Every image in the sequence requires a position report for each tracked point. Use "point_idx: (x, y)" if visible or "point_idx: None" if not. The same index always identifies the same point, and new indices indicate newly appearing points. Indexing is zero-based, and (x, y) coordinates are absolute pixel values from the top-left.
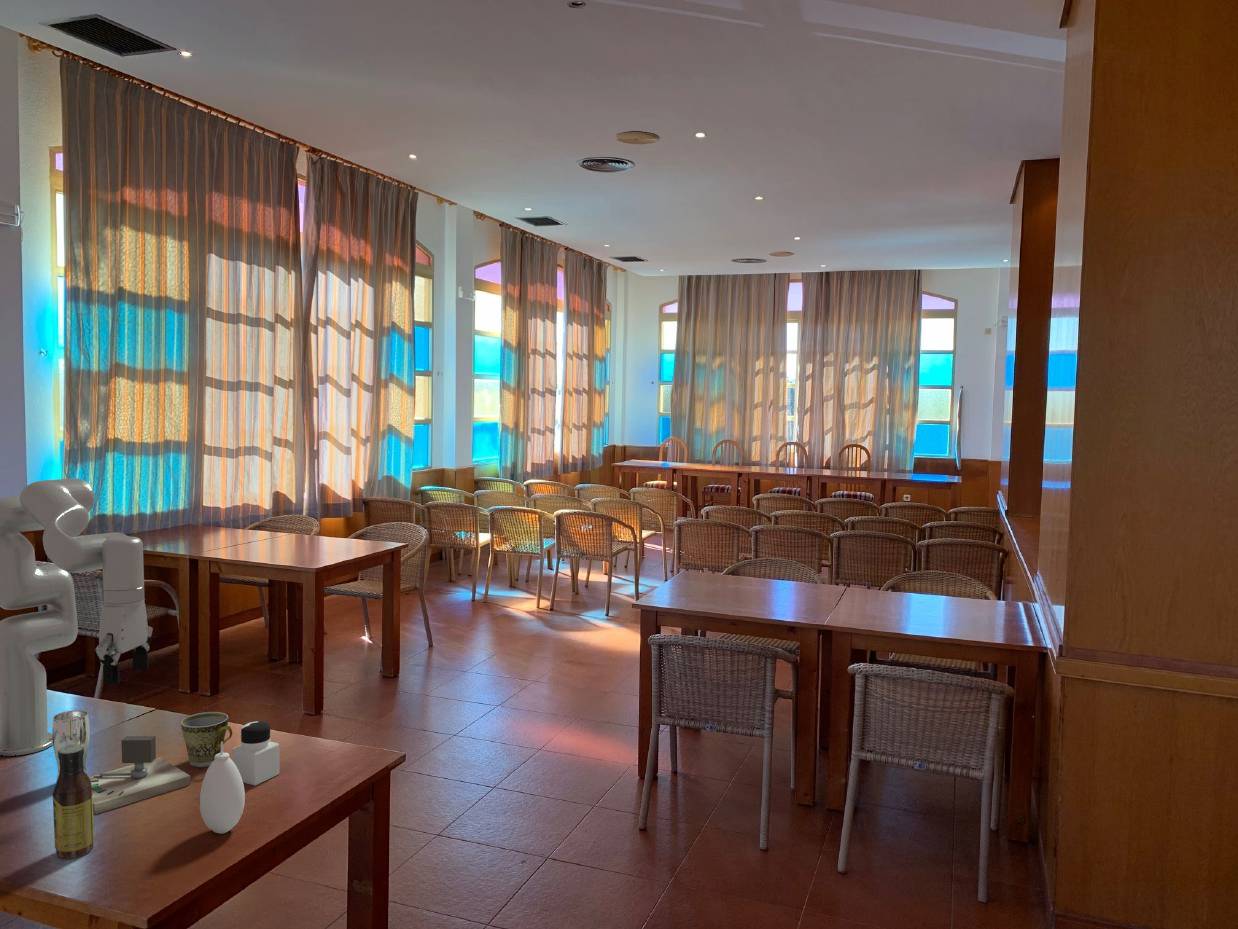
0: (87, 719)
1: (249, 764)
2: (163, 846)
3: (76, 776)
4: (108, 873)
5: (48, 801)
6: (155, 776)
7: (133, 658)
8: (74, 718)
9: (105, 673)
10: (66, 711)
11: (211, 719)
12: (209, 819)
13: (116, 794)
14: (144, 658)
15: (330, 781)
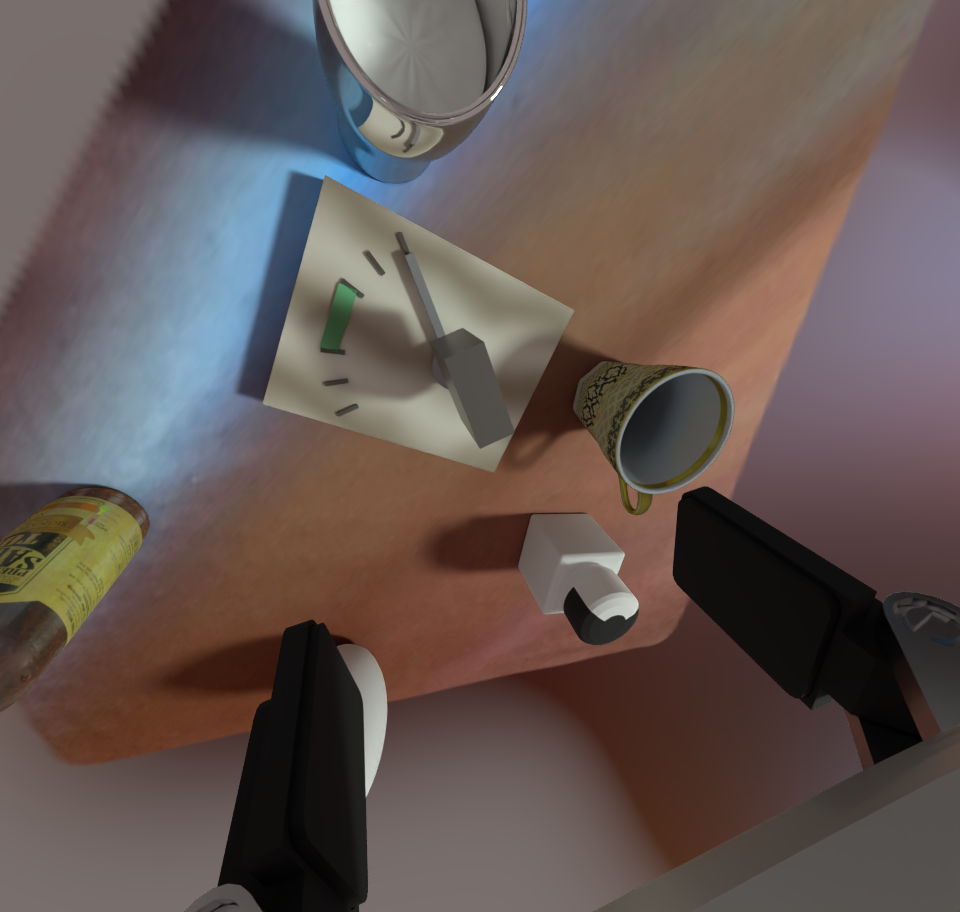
0: (464, 126)
1: (536, 584)
2: (246, 624)
3: None
4: (102, 635)
5: (248, 173)
6: None
7: (767, 562)
8: None
9: (248, 780)
10: None
11: (712, 402)
12: None
13: (338, 402)
14: (749, 649)
15: (562, 637)
